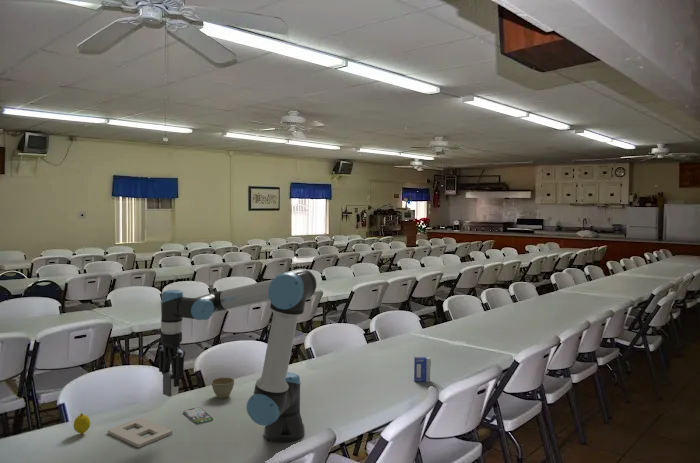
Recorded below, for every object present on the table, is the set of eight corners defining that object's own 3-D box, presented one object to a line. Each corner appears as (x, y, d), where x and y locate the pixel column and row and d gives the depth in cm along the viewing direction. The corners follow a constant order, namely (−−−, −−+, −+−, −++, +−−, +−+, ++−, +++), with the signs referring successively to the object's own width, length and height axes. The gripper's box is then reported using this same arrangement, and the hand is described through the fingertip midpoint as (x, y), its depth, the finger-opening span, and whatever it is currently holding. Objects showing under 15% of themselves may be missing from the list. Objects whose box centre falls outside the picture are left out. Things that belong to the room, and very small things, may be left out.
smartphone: (196, 424, 205) (182, 410, 216) (196, 426, 205) (182, 413, 216) (214, 419, 209) (199, 406, 221) (214, 422, 209) (199, 409, 221)
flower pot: (238, 396, 235) (238, 380, 235) (219, 402, 228) (219, 386, 227) (226, 390, 242) (226, 375, 242) (207, 396, 235) (207, 380, 234)
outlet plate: (172, 433, 197) (172, 430, 197) (138, 447, 185) (138, 444, 185) (141, 420, 208) (141, 417, 208) (107, 433, 197) (107, 430, 197)
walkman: (414, 381, 257) (414, 357, 256) (414, 379, 259) (414, 356, 259) (430, 382, 256) (430, 358, 255) (429, 380, 259) (430, 356, 258)
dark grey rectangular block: (178, 393, 196) (178, 372, 196) (169, 396, 193) (169, 375, 192) (171, 391, 199) (172, 370, 198) (162, 394, 195) (163, 372, 195)
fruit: (73, 438, 192) (72, 417, 192) (74, 432, 197) (74, 411, 197) (89, 435, 194) (89, 414, 194) (90, 429, 199) (90, 409, 199)
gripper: (194, 333, 192) (193, 395, 194) (166, 326, 202) (165, 385, 204) (177, 337, 186) (176, 401, 188) (149, 329, 196) (148, 390, 198)
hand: (170, 392), depth 196 cm, fingers closed on dark grey rectangular block, 4 cm apart
